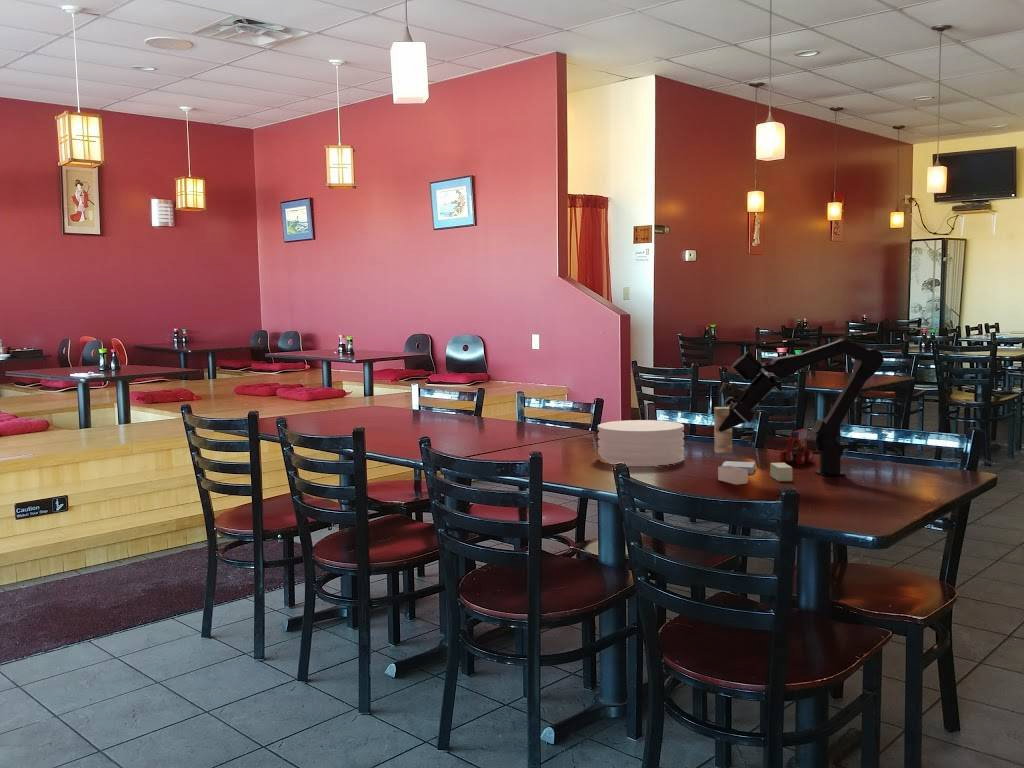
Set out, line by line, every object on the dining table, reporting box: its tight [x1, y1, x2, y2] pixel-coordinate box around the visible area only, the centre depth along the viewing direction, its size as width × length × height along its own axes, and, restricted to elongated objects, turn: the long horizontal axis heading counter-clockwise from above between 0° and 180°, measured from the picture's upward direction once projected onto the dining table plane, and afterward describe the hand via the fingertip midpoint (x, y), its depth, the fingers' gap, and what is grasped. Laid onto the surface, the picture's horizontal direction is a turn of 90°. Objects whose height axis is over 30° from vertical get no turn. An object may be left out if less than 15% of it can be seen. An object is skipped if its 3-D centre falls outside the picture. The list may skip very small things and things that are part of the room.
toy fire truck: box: [779, 428, 814, 465], centre depth 278 cm, size 7×12×10 cm, turn 136°
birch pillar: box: [713, 406, 733, 454], centre depth 259 cm, size 4×4×13 cm
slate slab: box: [721, 460, 756, 475], centre depth 266 cm, size 9×9×2 cm
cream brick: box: [717, 465, 749, 486], centre depth 250 cm, size 8×4×4 cm, turn 24°
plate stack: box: [597, 419, 685, 467], centre depth 290 cm, size 28×28×12 cm
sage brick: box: [769, 462, 793, 482], centre depth 253 cm, size 8×4×4 cm, turn 179°
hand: (718, 429), depth 259 cm, fingers closed on birch pillar, 4 cm apart
